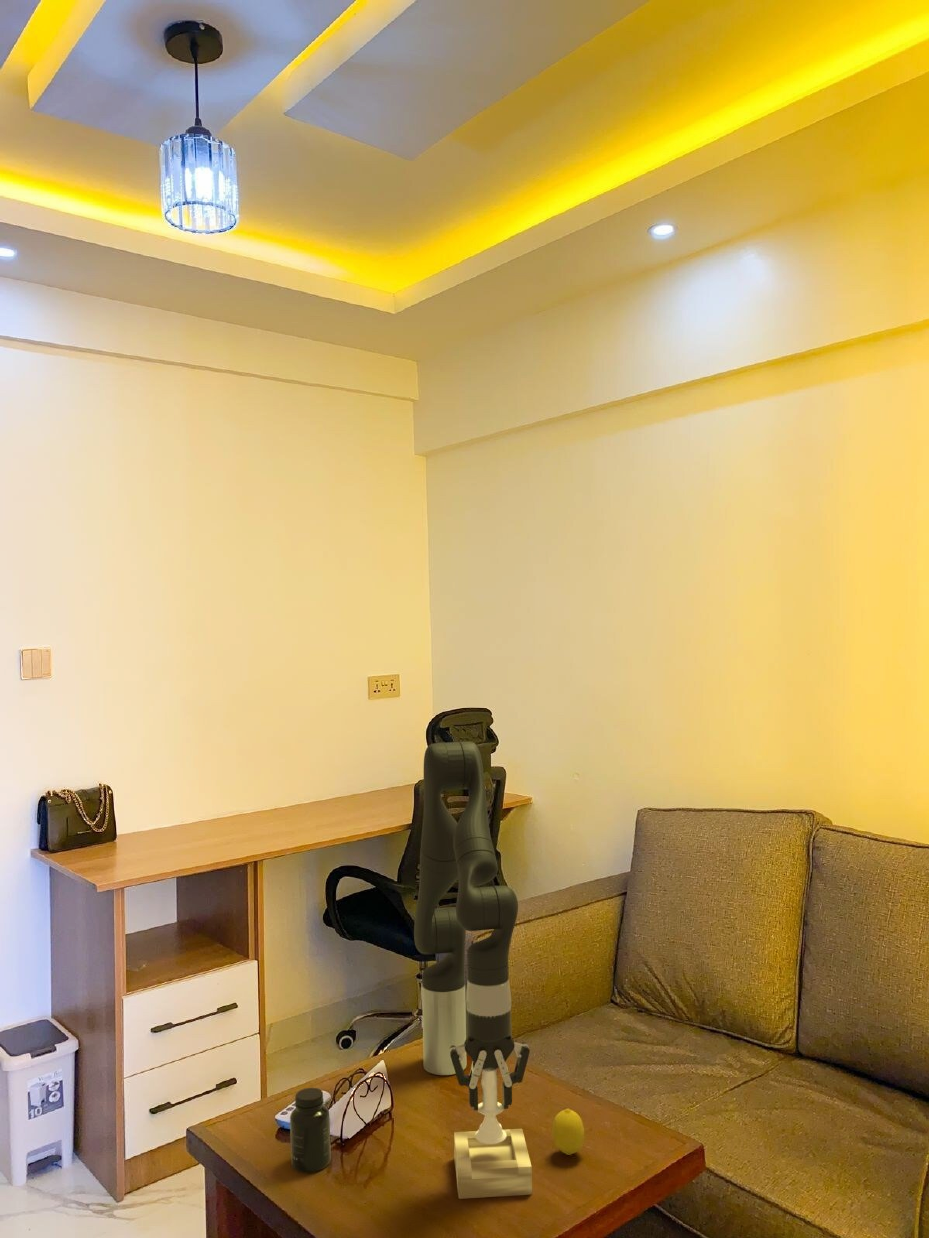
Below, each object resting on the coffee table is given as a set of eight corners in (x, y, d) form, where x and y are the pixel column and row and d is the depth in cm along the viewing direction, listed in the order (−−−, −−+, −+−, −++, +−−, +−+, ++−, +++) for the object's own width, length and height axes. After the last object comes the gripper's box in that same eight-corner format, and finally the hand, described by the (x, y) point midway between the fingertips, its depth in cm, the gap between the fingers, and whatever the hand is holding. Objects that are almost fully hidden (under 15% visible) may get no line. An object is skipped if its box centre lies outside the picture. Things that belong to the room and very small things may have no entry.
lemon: (549, 1160, 163) (548, 1114, 164) (557, 1144, 169) (556, 1099, 169) (580, 1166, 162) (579, 1119, 162) (587, 1149, 167) (586, 1103, 167)
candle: (483, 1147, 156) (481, 1074, 156) (469, 1132, 161) (468, 1061, 161) (512, 1140, 158) (510, 1067, 158) (498, 1125, 163) (496, 1055, 163)
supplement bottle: (315, 1148, 169) (314, 1080, 169) (338, 1162, 164) (337, 1092, 164) (283, 1163, 164) (282, 1093, 164) (305, 1178, 159) (304, 1106, 160)
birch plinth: (454, 1158, 165) (454, 1132, 165) (522, 1154, 166) (522, 1128, 166) (458, 1198, 153) (458, 1170, 153) (532, 1194, 154) (531, 1166, 154)
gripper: (527, 995, 164) (529, 1094, 164) (445, 999, 163) (447, 1098, 163) (533, 1012, 157) (535, 1116, 156) (447, 1016, 156) (449, 1120, 155)
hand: (490, 1106), depth 160 cm, fingers closed on candle, 4 cm apart
